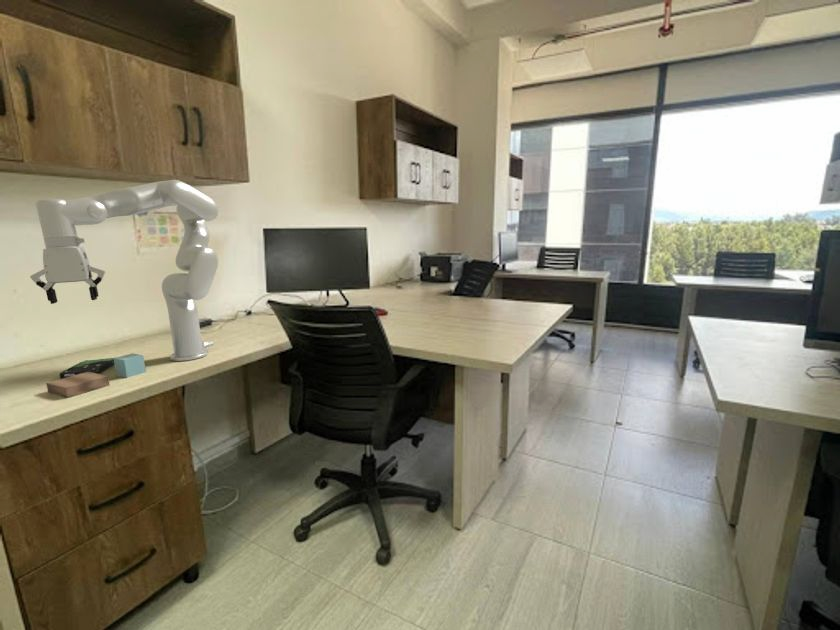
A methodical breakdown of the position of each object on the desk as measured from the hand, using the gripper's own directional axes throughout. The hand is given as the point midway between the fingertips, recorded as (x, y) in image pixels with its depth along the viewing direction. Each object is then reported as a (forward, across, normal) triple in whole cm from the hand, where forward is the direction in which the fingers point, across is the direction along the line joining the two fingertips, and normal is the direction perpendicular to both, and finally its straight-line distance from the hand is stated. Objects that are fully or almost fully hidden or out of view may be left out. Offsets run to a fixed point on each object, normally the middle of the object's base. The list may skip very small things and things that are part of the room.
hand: (74, 301), depth 124 cm
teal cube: (+27, -9, -7) cm, 29 cm away
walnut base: (+26, +3, +2) cm, 27 cm away
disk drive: (+28, +5, -18) cm, 33 cm away
